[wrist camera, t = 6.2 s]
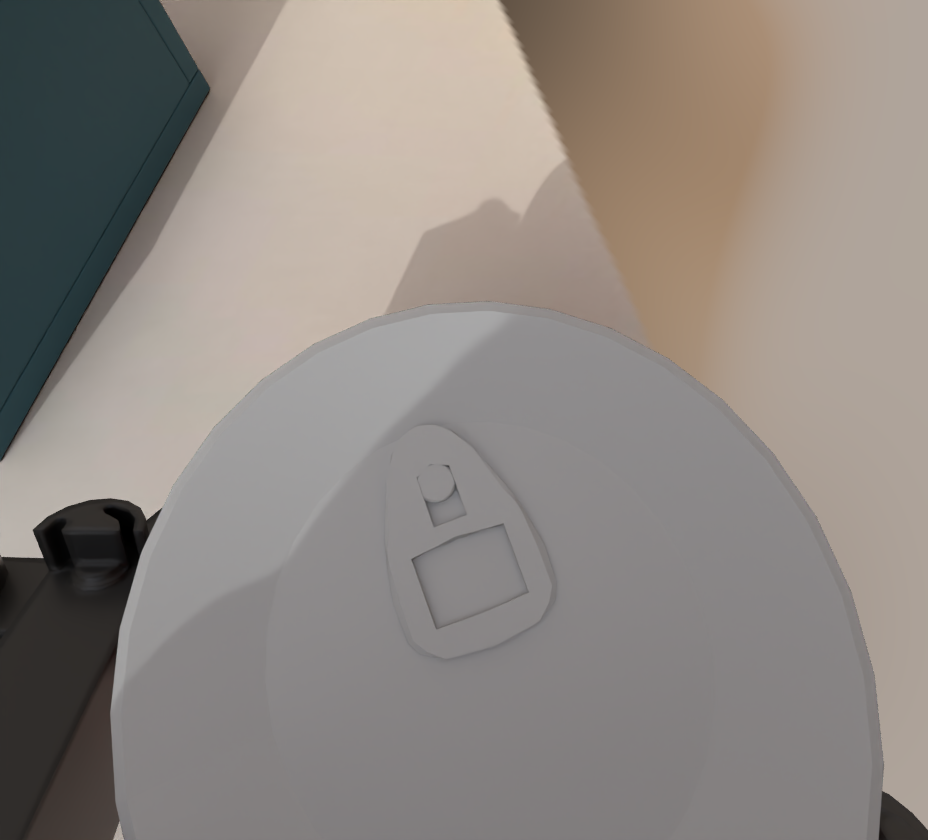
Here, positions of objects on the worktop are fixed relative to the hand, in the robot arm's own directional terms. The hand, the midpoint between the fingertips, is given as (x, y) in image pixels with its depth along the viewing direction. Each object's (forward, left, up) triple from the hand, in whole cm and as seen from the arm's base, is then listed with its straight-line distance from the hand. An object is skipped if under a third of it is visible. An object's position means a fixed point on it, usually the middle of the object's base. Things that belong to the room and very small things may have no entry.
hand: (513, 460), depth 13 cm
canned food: (-2, +3, -4) cm, 5 cm away
